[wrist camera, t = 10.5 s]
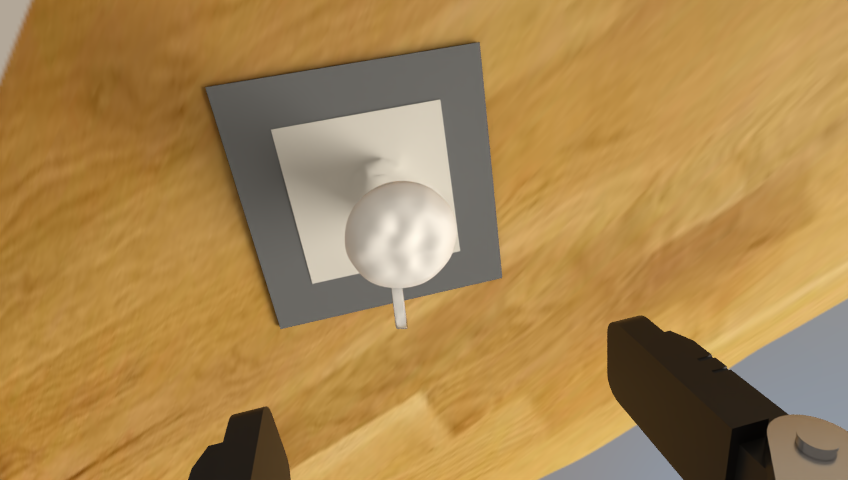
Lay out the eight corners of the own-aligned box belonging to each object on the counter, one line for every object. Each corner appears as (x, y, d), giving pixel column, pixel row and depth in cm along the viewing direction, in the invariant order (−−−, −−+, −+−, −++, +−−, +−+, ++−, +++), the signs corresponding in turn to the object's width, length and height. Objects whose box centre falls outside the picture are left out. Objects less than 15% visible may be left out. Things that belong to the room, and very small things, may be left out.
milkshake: (335, 237, 27) (341, 329, 18) (341, 142, 25) (352, 191, 16) (413, 240, 28) (457, 329, 19) (424, 150, 26) (478, 199, 17)
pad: (477, 42, 25) (480, 42, 25) (500, 275, 31) (502, 278, 30) (206, 87, 23) (205, 87, 23) (280, 326, 29) (280, 329, 28)
